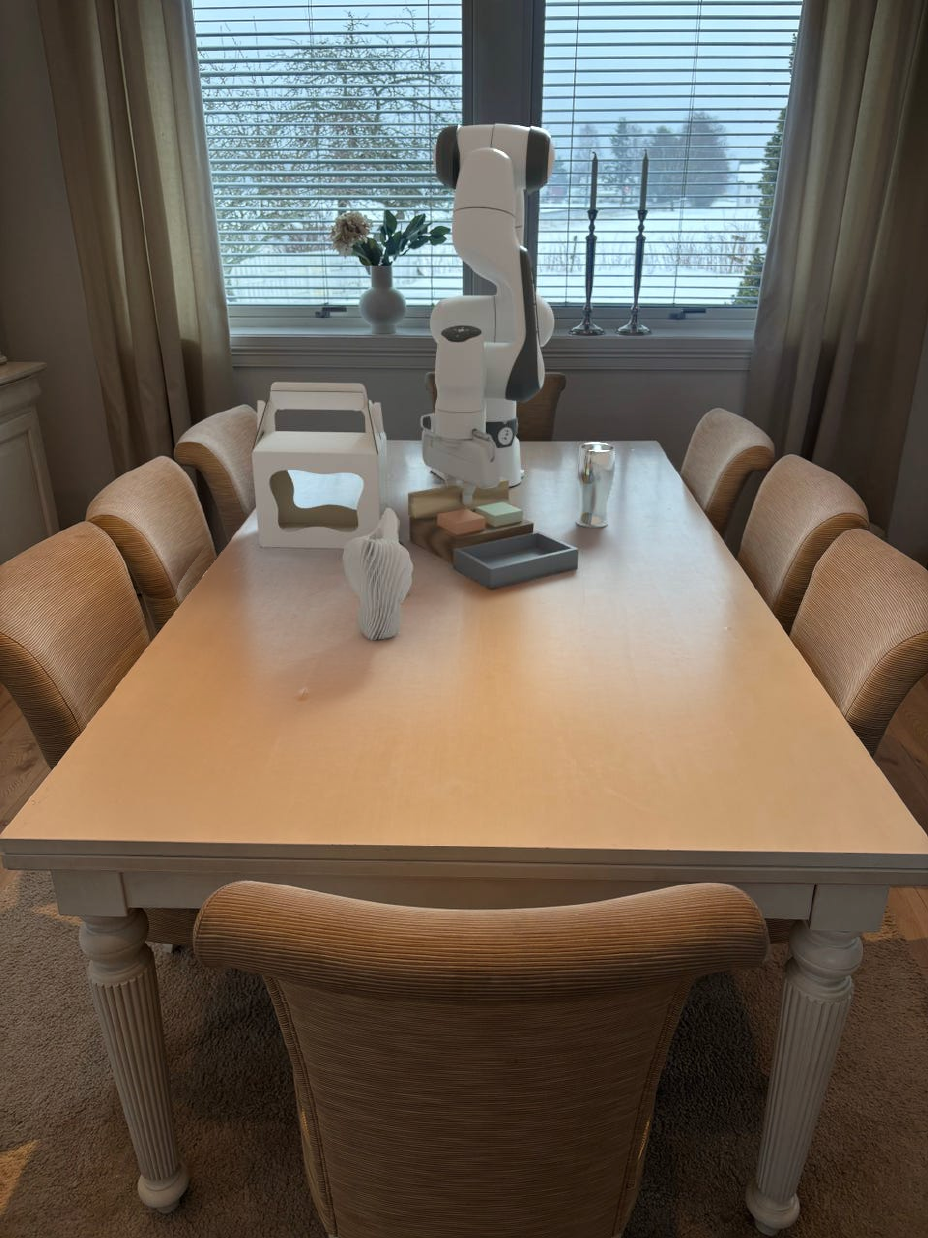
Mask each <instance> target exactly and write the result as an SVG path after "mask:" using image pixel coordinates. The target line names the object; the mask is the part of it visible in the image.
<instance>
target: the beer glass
mask: <svg viewBox="0 0 928 1238" xmlns="http://www.w3.org/2000/svg"><path fill="white" fill-rule="evenodd" d="M615 450H616V446H614V445H611V444H610V443H603V442H586V443H582V444H580V445H579V451H578V456H577V457H578V459H577V465H576V466H577V469H576V479H577V481H576V482H577V488H578V499H579V501H578V502H579V504H578V505H579V506H578V507H579V508H578V512H577V517H576V519H575V521H576V522H575V523H576V525H578V526H579V527H584V528H588V529H589V528H590V529H600V528H604V527H606V526H607V525H608V523H609V520H608V501H609V497H610V494H611V490H612V486H613V481H614V477H615V476H614V475H615V465H616V464H615V463H616V462H615V461H616V460H615V458H616V457H615V452H616V451H615Z"/></svg>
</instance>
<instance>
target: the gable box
mask: <svg viewBox="0 0 928 1238" xmlns="http://www.w3.org/2000/svg"><path fill="white" fill-rule="evenodd" d="M381 405H382V404H381V402H380V401H375V402H374V403H373V402H372V400H371V399H369V398H368V392H367V389H366V386H365V385H364V384H363V383H361V382H360V383H359V382H318V381H317V382H314V381H313V382H312V381H310V382H308V381H306V382H305V381H304V382H302V381H300V382H299V381H274V382H273V383H272V384H271V385H270V389H269V397H268V398H267V400H266V401H265V400H263V399H258V400H257V412H256V413H257V416H256V417H257V418H256V421H257V425H256V426H257V432H256V435H255V439H254V443H253V446H252V449H251V460H252V474H253V484H254V495H255V497H254V498H255V505H256V506H255V507H256V509H255V510H256V519H257V520H256V521H257V531H258V532H257V533H258V545H259V547H260V548H279V549H280V548H283V549H284V548H285V549H287V548H289V549H296V548H297V549H328V550H329V549H332V550H333V549H335V550H344V546H345V545H346V544H347V543H348V542H349V541H351V540H353V539H355V538H358V537H363V536H367V535H369V534H371V533H372V532H374V530H376V527H377V531H376V535H377V532H378V524H379V521H380V520H381V518H382V515H384V512H385V510H386V509H387V508H389V496H388V495H389V494H388V491H389V489H388V454H387V453H388V452H387V434H386V432H385V431H384V423H383V415H382V406H381ZM278 410H281V411H284V410H315V411H317V410H323V411H325V410H326V411H328V410H329V411H330V410H332V411H354V412H358V411H360V412H362V414H363V415H364V419H365V420H364V421H365V431H338V430H337V431H336V430H335V431H328V430H322V431H321V430H279V429H278V430H276V418H275V417H276V416H275V415H276V414H275V413H276V412H277V411H278ZM289 471H300V472H305V473H306V472H307V473H311V474H318V475H331V474H332V475H333V474H341V473H342V474H343V473H345V474H348V473H349V474H353V475H357V476H358V477H360V478H361V480H362V482H363V487H362V491H361V493H360V496H359V498H358V500H357V506H356V509H355V508H354V509H353V508H350V507H347V506H345V505H339V504H321V505H318V506H312V507H300V506H297V505H296V502H295V499H294V497H295V496H294V495H295V487H294V482H293V479H292V477H291V475H290V473H289ZM378 535H379V534H378ZM377 539H378V537H377Z"/></svg>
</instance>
